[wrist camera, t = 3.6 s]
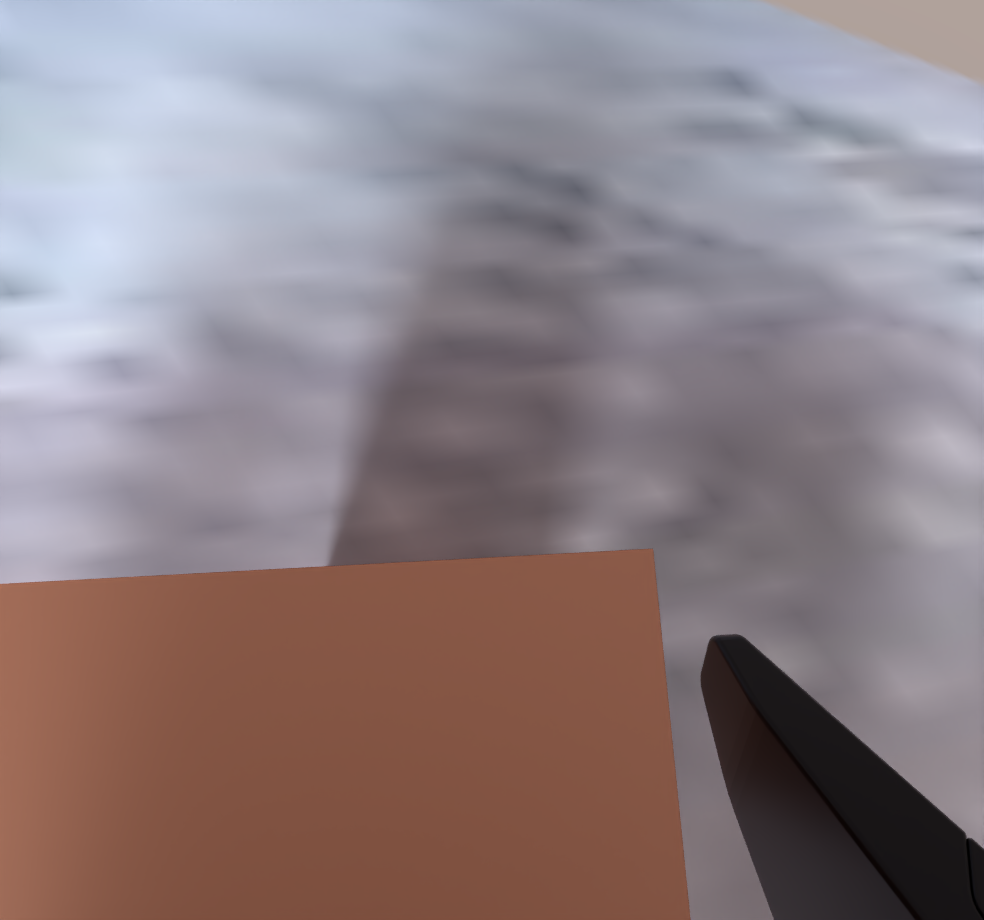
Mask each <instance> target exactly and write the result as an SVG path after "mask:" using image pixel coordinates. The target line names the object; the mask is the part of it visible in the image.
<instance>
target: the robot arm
mask: <svg viewBox="0 0 984 920" xmlns="http://www.w3.org/2000/svg"><path fill="white" fill-rule="evenodd" d="M701 689H702V693H703V697H704V701H705V705H706V709H707V713H708V717H709V721H710V725H711V729H712V733H713V737H714V741H715V745H716V749H717V753H718V757H719V761H720V765H721V769H722V773H723V776H724V780H725V784H726V787H727V791H728V795H729V798H730V800H731V803H732V806H733V809H734V812H735V815H736V818H737V820H738V823H739V826H740V828H741V831H742V834H743V837H744V839H745V842H746V845H747V847H748V850H749V853H750V856H751V858H752V861H753V864H754V866H755V869H756V872H757V874H758V877H759V880H760V883H761V885H762V888H763V891H764V893H765V896H766V899H767V902H768V904H769V907H770V910H771V912H772V915H773V918H774V920H984V849H983V848H982V847H981V846H980V845H979V844H978V843H977V842H976V841H974V840H973V839H972V838H967V837H966V834H965V832H964V831H963V830H962V829H961V828H959V827H958V826H957V825H956V824H955V823H954V822H953V821H951V820H950V819H949V818H948V817H947V816H946V815H945V814H944V813H942V812H941V811H940V810H939V809H938V808H937V807H936V806H935V805H933V804H932V803H931V802H930V801H929V800H928V799H927V798H925V797H924V796H923V795H922V794H921V793H920V792H919V791H918V790H916V789H915V788H914V787H913V786H912V785H911V784H910V783H909V782H907V781H906V780H905V779H904V778H903V777H902V776H901V775H899V774H898V773H897V772H896V771H895V770H894V769H893V768H892V767H890V766H889V765H888V764H887V763H886V762H885V761H884V760H882V759H881V758H880V757H879V756H878V755H877V754H876V753H875V752H873V751H872V750H871V749H870V748H869V747H868V746H867V745H866V744H864V743H863V742H862V741H861V740H860V739H859V738H858V737H856V736H855V735H854V734H853V733H852V732H851V731H850V730H849V729H847V728H846V727H845V726H844V725H843V724H842V723H841V722H840V721H838V720H837V719H836V718H835V717H834V716H833V715H832V714H830V713H829V712H828V711H827V710H826V709H825V708H824V707H823V706H821V705H820V704H819V703H818V702H817V701H816V700H815V699H813V698H812V697H811V696H810V695H809V694H808V693H807V692H806V691H804V690H803V689H802V688H801V687H800V686H799V685H798V684H797V683H795V682H794V681H793V680H792V679H791V678H790V677H789V676H787V675H786V674H785V673H784V672H783V671H782V670H781V669H780V668H778V667H777V666H776V665H775V664H774V663H773V662H772V661H771V660H769V659H768V658H767V657H766V656H765V655H764V654H763V653H761V652H760V651H759V650H758V649H757V648H756V647H755V646H754V645H752V644H751V643H750V642H749V641H748V640H747V639H746V638H744V637H742V636H741V635H737V634H732V635H716V636H713V637H712V638H711V639H710V641H709V643H708V647H707V651H706V655H705V659H704V663H703V667H702V671H701Z"/></svg>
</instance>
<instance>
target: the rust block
mask: <svg viewBox="0 0 984 920" xmlns="http://www.w3.org/2000/svg"><path fill="white" fill-rule="evenodd" d="M0 920H690V910H689V900H688V890H687V880H686V870H685V860H684V850H683V840H682V831H681V821H680V811H679V801H678V791H677V781H676V771H675V761H674V751H673V742H672V732H671V722H670V712H669V702H668V692H667V682H666V672H665V662H664V652H663V643H662V633H661V623H660V613H659V603H658V593H657V583H656V573H655V563H654V553H653V549H638V550H619V551H601V552H582V553H564V554H545V555H527V556H508V557H490V558H471V559H453V560H434V561H416V562H398V563H379V564H361V565H342V566H324V567H305V568H287V569H268V570H250V571H231V572H213V573H194V574H176V575H158V576H139V577H121V578H102V579H84V580H65V581H47V582H28V583H10V584H0Z"/></svg>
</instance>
